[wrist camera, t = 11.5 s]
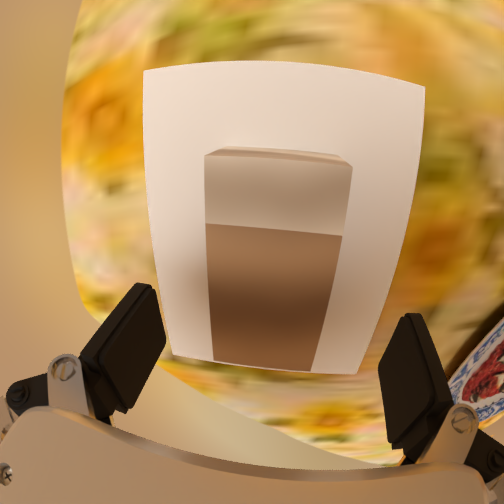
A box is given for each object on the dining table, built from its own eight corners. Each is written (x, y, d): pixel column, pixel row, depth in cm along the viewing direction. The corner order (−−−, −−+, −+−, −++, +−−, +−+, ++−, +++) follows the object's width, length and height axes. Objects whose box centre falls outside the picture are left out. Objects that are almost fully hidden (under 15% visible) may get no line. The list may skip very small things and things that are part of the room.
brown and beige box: (309, 328, 19) (310, 371, 16) (226, 320, 20) (213, 360, 16) (337, 154, 14) (352, 167, 10) (226, 146, 14) (204, 155, 11)
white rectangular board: (420, 87, 11) (425, 86, 11) (355, 369, 22) (355, 374, 21) (148, 71, 13) (143, 70, 13) (175, 349, 23) (172, 354, 23)
